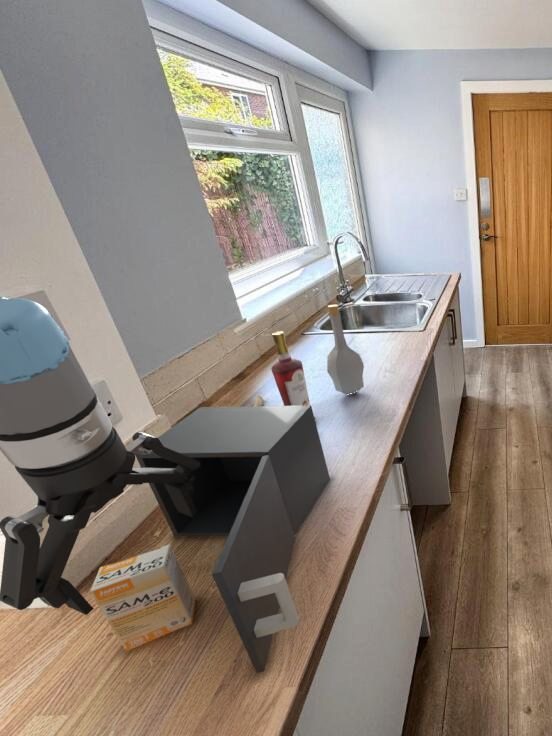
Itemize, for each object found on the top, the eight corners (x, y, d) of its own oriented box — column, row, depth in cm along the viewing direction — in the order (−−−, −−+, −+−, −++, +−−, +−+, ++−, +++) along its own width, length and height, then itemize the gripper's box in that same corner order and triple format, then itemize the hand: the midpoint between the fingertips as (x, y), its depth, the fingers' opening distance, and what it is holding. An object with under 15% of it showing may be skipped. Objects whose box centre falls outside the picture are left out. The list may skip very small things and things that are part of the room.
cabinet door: (325, 531, 79) (302, 448, 71) (305, 658, 58) (269, 560, 50) (290, 540, 77) (262, 456, 70) (256, 673, 56) (211, 574, 48)
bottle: (352, 406, 124) (333, 313, 112) (325, 400, 128) (303, 309, 116) (376, 389, 134) (361, 302, 122) (350, 384, 138) (332, 299, 126)
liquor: (303, 416, 119) (279, 327, 108) (322, 420, 117) (300, 330, 106) (282, 430, 113) (254, 336, 102) (302, 434, 110) (276, 339, 100)
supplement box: (125, 654, 59) (86, 593, 54) (134, 626, 63) (97, 566, 58) (194, 625, 63) (163, 565, 58) (198, 600, 67) (169, 541, 62)
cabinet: (295, 536, 78) (267, 452, 70) (174, 537, 79) (134, 453, 71) (330, 480, 93) (311, 405, 85) (228, 481, 94) (200, 407, 86)
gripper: (-88, 571, 31) (47, 675, 42) (204, 384, 51) (241, 490, 63) (-158, 538, 32) (-7, 648, 44) (156, 368, 52) (201, 474, 64)
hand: (140, 555), depth 53 cm, fingers open, 13 cm apart
